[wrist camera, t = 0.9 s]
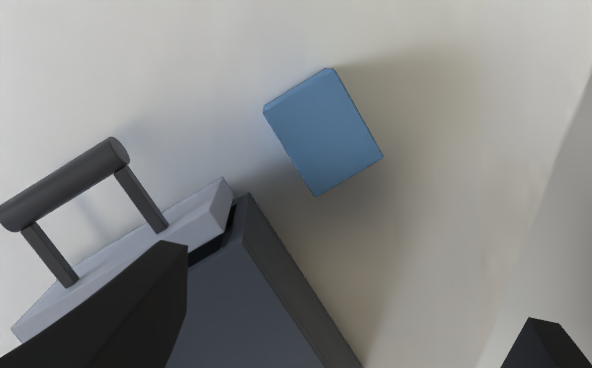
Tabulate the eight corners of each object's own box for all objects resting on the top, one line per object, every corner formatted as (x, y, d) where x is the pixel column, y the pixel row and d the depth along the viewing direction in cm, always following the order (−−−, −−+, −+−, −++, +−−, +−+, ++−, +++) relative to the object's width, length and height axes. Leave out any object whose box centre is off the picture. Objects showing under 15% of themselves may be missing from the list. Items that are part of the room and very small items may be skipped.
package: (309, 182, 29) (314, 198, 25) (263, 106, 28) (262, 112, 24) (370, 146, 28) (384, 157, 25) (326, 67, 27) (334, 68, 24)
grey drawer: (11, 202, 27) (-64, 243, 21) (173, 101, 26) (144, 113, 20) (190, 430, 31) (171, 521, 25) (336, 349, 30) (353, 422, 24)
